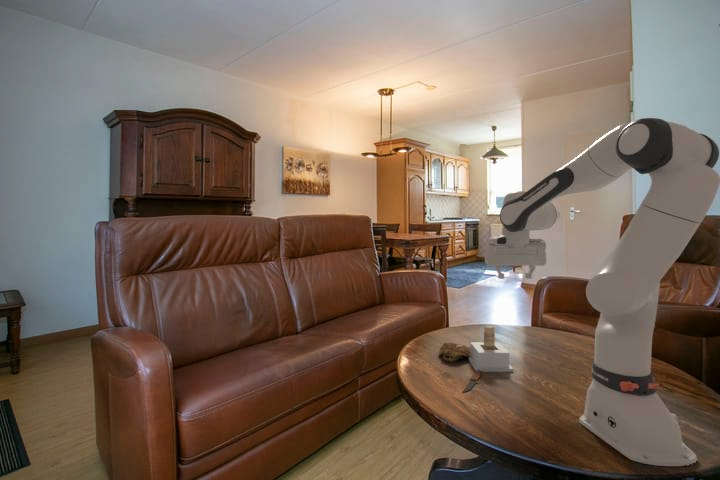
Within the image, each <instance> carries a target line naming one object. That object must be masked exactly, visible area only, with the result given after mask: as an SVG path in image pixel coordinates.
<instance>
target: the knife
mask: <svg viewBox="0 0 720 480" xmlns="http://www.w3.org/2000/svg"><path fill="white" fill-rule="evenodd" d="M483 373H484V372H483V371H476V370H475V372H474V373H473V375H472V376H471V377H470V380H469V382H468V384H466V386H465V387H464V388H463V390H462V393H464V392H469V391H471V389H472V388H473V387H474V386H475V385H476V384H480V382H479V380H480V377H481V375H483Z"/></svg>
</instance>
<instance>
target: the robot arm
mask: <svg viewBox="0 0 720 480" xmlns="http://www.w3.org/2000/svg"><path fill="white" fill-rule="evenodd" d="M719 157H720V149H719V146H718V144H717V143H716V142H715V141H714V140H713V139H712V138H710V137H709V136H707V135H706V134H703V133H700V132H698V131H695V130H693V129H690V128H689V127H688V126H686V125H682V124H679V123H677V122H672V121H666V120H664V119H661V118H655V117H646V118H645V117H644V118H639V119H636V120H634V121H632V122H626V123H623V124H622V123H621V124H620V125H618V126H617V127H615V128H613V129H612V130H610V131H608V132H607V133H606V134H604V135H602V136H601V137H600V138H598V139H596V140H595V142H593V143H592V144H591V145H590V146H589V147H588V148H586V149H585V150H584V151H582V153H580V154H579V155H578V156H576V157H575V158H574V159H572V160H571V161H569V162H567V164H565V165H563V166H562V167H560V168H559V169H557V170H555V171H554V172H552V173H550V174H549V175H547V176H546V177H545V178H543V179H542V180H540V181H539V182H538V183H536V184H535V185H534V186H532V187H531V188H529V189H528V190H527V191H524V190H523V191H521V190H520V191H519V190H518V191H513V192H509V193H507V194H506V195H504V198H503V201H502V207H501V209H500V212H499V219H500V223H501V225H502V229H501V233H500V234H496V235H494V236H490V237H488V239H487V243H488V244H487V246H486V248H485V252H484V263H485V264H486V266H489V267H494V269H495V271H496V272H497V274H498V275H497V276H498V277H497V279H501V280H502V279H503V280H504V279H505V273H503V272H502V271H501V269H502V267H504V266H505V267H513V266H514V267H515V266H517V267H520V266H521V267H522V266H523V267H525V266H526V267H528V272H525V275H524V276H525V279H528V280H529V279H532V277H533V273H534V272H535V270H536V266H542V267H544V266H545V265H546V264H547V253H546V250H547V243H546V242H545V240H543V239H542V238H530V237H531V236H530V235H531V233H530V232H531V231H543V230H548V229H550V228H552V227H553V226H554V225H555V223H556V221H557V216H558V214H557V209H556V207H555V206H554V204H553V203H552V201H554V200H555V199H558V198H560V197H563V196H566V195H567V196H568V195H571V194H577V193H585V192H592V191H597V190H600V189H602V188H605V187H607V186H608V185H610V184H612V183H613V182H616V180H618V179H619V178H621V177H622V176H623V175H625V174H626V173H627V172H629V171H630V170H631V169H633V170H635V171H636V172H637V173H639V175H646V174H648V175H649V177H650V178H651V179H650V180H651V184H650V188H649V190H648V191H647V194H646V195H645V197H644V198H643V200H642V202H641V203H640V205H639V207H638V208H637V210H636V212H635V214H634V215H633V217H632V219H631V220H630V222H629V224H628V226H627V227H626V229H625V231H624V232H623V235H621V237H620V238H619V240H618V241H617V242H616V244H615V245H614V246H613V248H611V250H610V252H609V253H608V254H607V255H606V256H605V258H604V260H603V261H602V263H601V264H599V265H600V266H599V267H598V269H597V270H596V271H595V273H594V274H593V275H592V277H590V279H589V281H588V283H587V285H586V287H585V296H586V298H587V301H588V303H589V304H590V305H591V306H592V307H593V309H595V310H596V311H597V312H600V315H599V318H598V322H597V325H596V328H595V332H594V357H593V358H594V360H593V361H592V364H591V365H592V366H591V378H592V381H591V383H590V385H589V387H588V388H587V390H586V396H585V403H584V411H583V414H582V415H581V416H580V417H579V421H578V422H579V424H581V425H582V426H583V427H585V428H586V429H588V430H589V431H590V432H592V433H593V434H595V435H596V436H597V437H599V438H600V439H601V440H602V441H603V442H605V443H607V444H608V445H610V446H611V447H613V448H614V449H615V450H617V451H618V452H619V453H620V454H622V455H623V456H625V457H626V458H628V459H629V460H631V461H633V462H637V463H640V464H644V465H645V464H646V465H649V466H652V465H653V466H661V467H683V466H685V465H686V466H691V465H694V464H695V463H697V462H698V456H697V454H696V453H695V452H694V451H692V450H691V448H690V447H688V446H687V445H686V444H685V443H684V442H683V438H682V436H683V435H682V430H681V426H680V424H679V419H678V417H677V415H676V414H675V413H671V412H670V411H669V409H668V407H667V406H666V405H665V403H664V402H663V400H662V399H661V398H660V396H659V395H658V393H657V389H660V387H659V386H660V383H657V382H656V381H655V377H654V374H653V372H652V371H651V370H652V369H651V368H652V345H653V336H654V335H653V334H654V330H655V325H656V319H657V311H658V304H659V296H660V287H661V283H660V282H661V280H662V278H664V276H665V275H666V274H667V272H668V271H669V270H670V269H671V267H672V266H673V265H674V263H675V262H676V261H677V259H679V257H680V256H681V254H682V253H683V252H684V250H685V248H686V247H687V245H688V244H689V242H690V240H691V239H692V238H693V236H694V235H695V233H696V232H697V230H698V229H699V227H700V225H701V223H702V222H703V221H704V219H705V217H706V216H707V213H709V210H710V208H711V206H712V204H713V203H714V200H715V198H716V195H717V193H718V190H719V187H720V175H719V173H718V172H717V171H716V170H715V169H713V168H714V167H715V166H716V164H717V163H718V160H719ZM696 461H697V462H696ZM693 463H694V464H693ZM690 464H691V465H690ZM686 466H685V467H686Z"/></svg>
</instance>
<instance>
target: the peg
mask: <svg viewBox="0 0 720 480" xmlns="http://www.w3.org/2000/svg"><path fill="white" fill-rule="evenodd" d="M495 328H496V327H495V326H493V325H484V328H483V330H484V331H483V342H484V350H494V345H495V342H496V341H495V340H496V339H495V338H496V337H495V336H496V335H495V334H496V333H495V332H496V329H495Z"/></svg>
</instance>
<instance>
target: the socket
mask: <svg viewBox="0 0 720 480" xmlns="http://www.w3.org/2000/svg"><path fill="white" fill-rule="evenodd" d="M469 346H470V347H469V348H470V355H469V357H468V356H466V359H467V361H469V364H471V366H472V367H473V369H474V370H475V372H476V371H483V373H484V372H485V373H487V372H488V373H495V372H496V373H500V372H501V373H502V372H503V373H504V372H505V373H508V372H509V373H513V372H514V367H512V366H511V365H510V352H509V351H508V350H507V349H506V348H505V347H504V346H503V345H502V344H501V343H500V341H499V342H498V341H497V342H496V341H495V345H494V350H484V341H483V342H482V341H481V342H480V341H479V342H476V341H474V342H473V341H472V342H470V345H469Z"/></svg>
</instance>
